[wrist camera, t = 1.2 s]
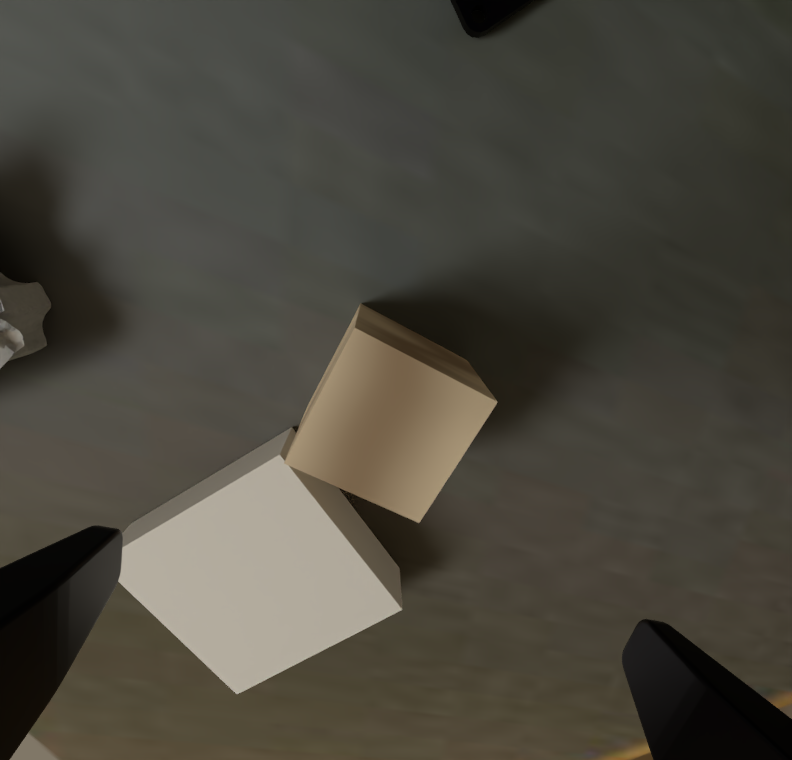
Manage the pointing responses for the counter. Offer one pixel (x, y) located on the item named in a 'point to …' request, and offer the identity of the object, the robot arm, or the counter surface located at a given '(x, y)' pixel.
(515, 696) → the counter surface
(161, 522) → the base
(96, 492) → the counter surface
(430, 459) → the cube
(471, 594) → the counter surface
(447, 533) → the counter surface
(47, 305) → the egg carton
